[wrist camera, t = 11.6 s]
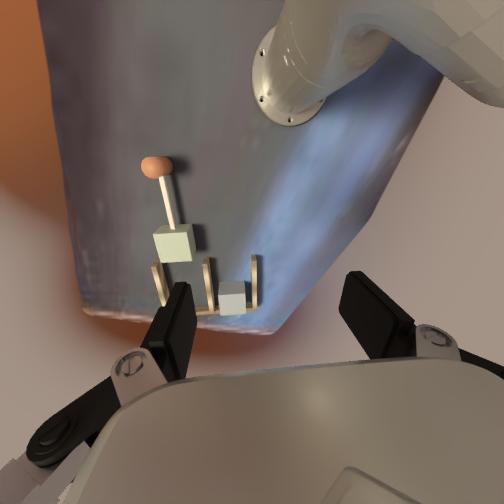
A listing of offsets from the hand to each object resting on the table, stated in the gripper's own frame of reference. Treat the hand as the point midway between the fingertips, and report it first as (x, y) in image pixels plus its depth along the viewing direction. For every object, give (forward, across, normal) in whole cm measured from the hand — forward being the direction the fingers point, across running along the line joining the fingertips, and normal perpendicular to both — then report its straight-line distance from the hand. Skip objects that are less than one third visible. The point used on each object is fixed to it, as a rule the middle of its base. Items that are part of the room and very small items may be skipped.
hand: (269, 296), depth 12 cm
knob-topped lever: (+30, +14, +2) cm, 33 cm away
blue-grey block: (+31, +4, +23) cm, 38 cm away
